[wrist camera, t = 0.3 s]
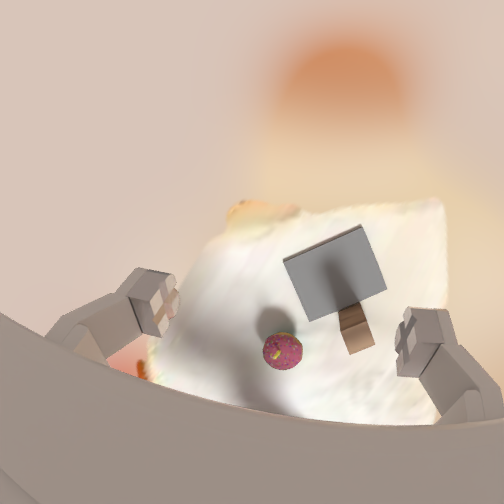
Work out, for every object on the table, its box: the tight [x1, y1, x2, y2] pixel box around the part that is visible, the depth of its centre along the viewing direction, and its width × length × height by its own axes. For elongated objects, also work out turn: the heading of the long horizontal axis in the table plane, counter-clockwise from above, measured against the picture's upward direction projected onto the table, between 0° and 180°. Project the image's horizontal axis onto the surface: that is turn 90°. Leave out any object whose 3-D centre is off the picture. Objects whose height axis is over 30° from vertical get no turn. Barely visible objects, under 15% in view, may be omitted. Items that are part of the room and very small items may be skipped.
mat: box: [283, 227, 387, 322], centre depth 61 cm, size 14×18×1 cm
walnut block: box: [338, 303, 375, 355], centre depth 55 cm, size 5×5×12 cm
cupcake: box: [263, 332, 303, 370], centre depth 59 cm, size 9×8×12 cm
